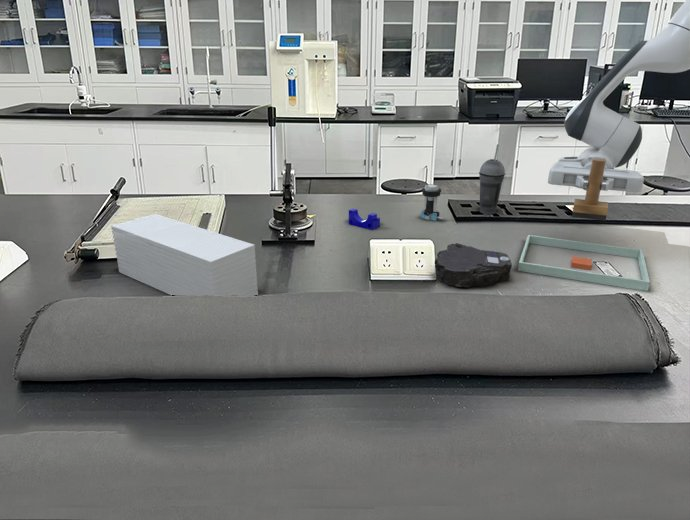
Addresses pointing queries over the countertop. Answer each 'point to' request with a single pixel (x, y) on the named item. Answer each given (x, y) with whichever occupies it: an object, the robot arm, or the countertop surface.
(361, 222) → the cable holder
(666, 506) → the countertop surface
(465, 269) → the rock sample
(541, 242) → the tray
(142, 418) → the countertop surface
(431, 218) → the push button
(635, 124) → the robot arm
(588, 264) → the felt chip
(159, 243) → the stack of papers
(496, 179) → the beverage cup
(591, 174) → the brush
